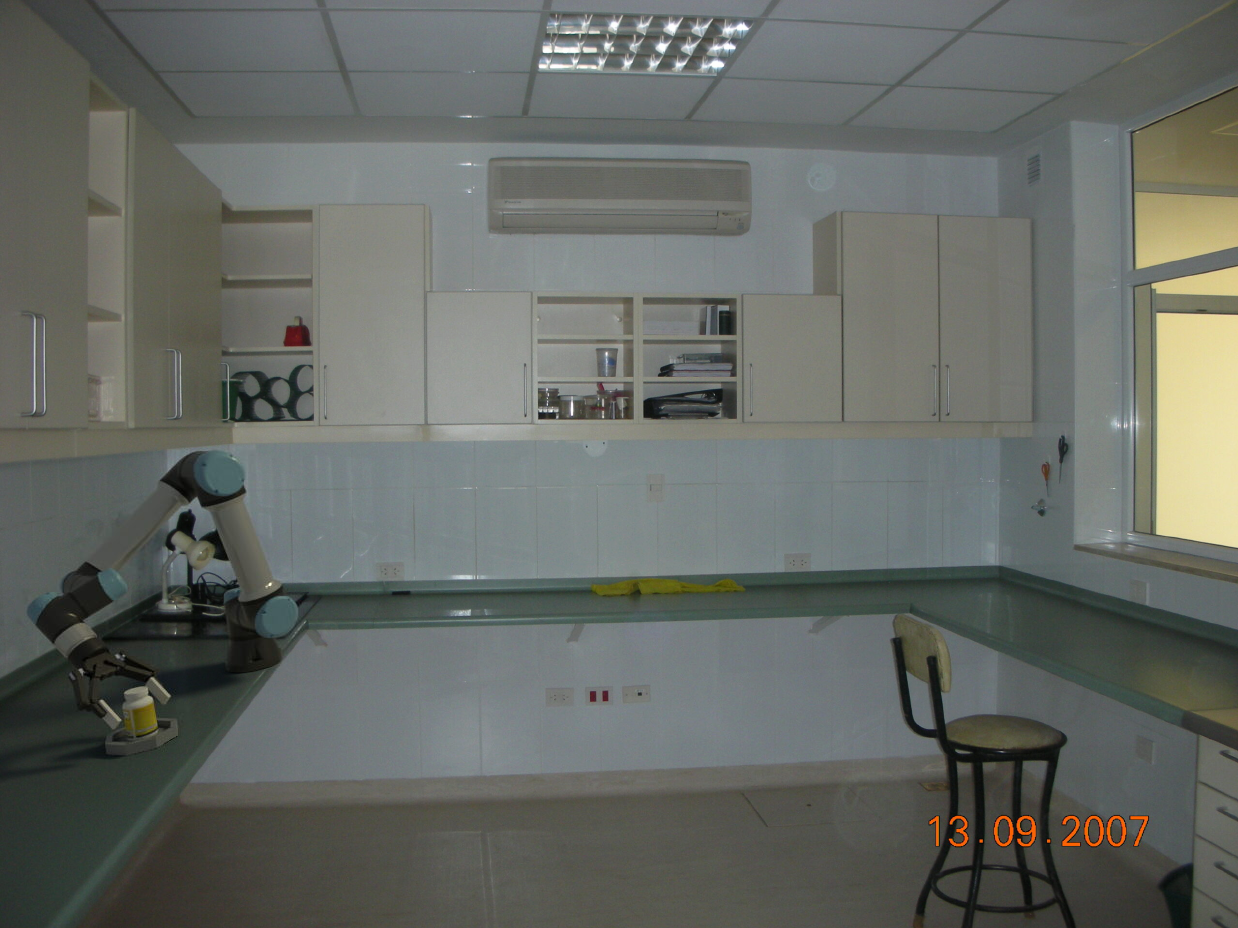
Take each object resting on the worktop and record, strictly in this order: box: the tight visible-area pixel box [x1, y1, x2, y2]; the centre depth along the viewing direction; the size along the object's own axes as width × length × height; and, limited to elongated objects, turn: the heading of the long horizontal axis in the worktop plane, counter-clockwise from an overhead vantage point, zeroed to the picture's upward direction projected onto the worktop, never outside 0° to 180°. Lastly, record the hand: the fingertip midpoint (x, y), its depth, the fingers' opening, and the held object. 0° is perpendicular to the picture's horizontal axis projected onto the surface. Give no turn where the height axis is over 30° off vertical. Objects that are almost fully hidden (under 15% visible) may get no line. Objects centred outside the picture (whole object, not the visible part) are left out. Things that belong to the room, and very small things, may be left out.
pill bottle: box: [121, 686, 158, 741], centre depth 186 cm, size 6×6×11 cm
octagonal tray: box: [104, 717, 179, 757], centre depth 187 cm, size 14×14×2 cm
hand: (143, 712), depth 186 cm, fingers open, 13 cm apart
